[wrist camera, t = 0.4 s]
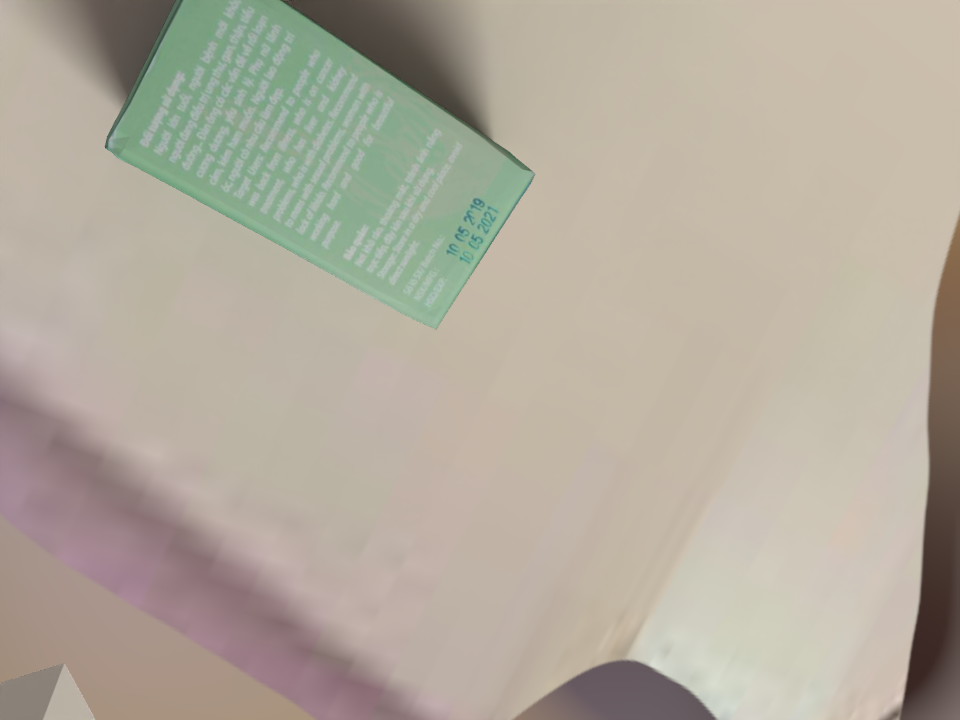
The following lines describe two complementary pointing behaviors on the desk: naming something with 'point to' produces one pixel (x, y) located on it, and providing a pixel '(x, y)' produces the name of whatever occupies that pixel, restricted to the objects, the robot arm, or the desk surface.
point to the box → (318, 151)
